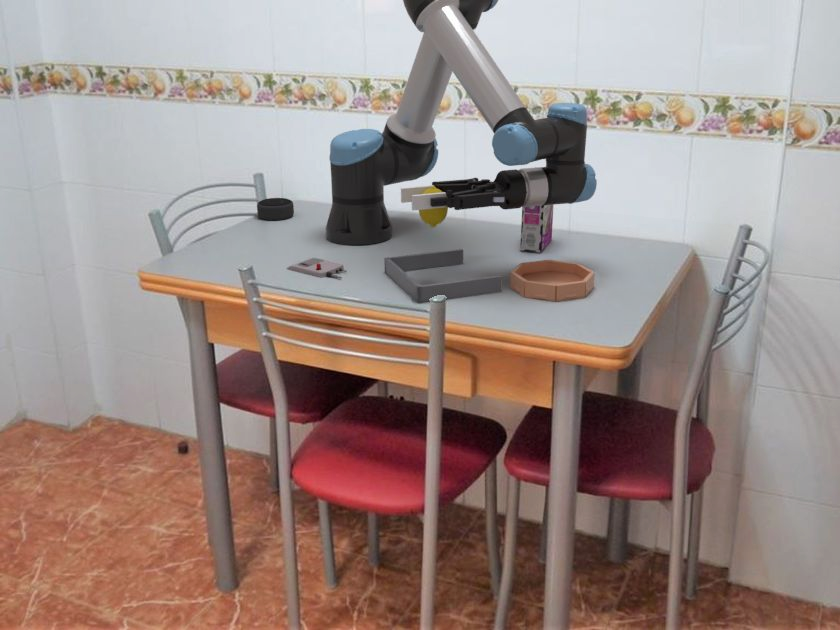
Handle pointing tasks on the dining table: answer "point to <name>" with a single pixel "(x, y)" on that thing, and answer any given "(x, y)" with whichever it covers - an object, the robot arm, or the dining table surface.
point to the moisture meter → (318, 267)
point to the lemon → (433, 211)
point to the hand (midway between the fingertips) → (407, 199)
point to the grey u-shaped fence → (449, 289)
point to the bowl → (552, 280)
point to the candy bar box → (536, 228)
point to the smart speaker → (275, 209)
